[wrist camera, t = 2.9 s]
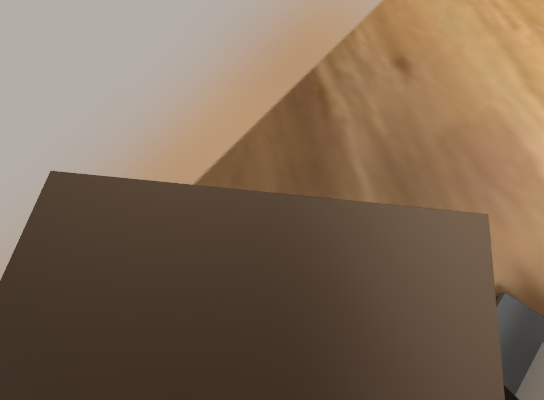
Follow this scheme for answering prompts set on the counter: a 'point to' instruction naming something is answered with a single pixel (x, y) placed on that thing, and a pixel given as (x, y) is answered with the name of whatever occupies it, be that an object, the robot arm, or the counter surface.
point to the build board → (521, 348)
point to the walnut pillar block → (245, 297)
